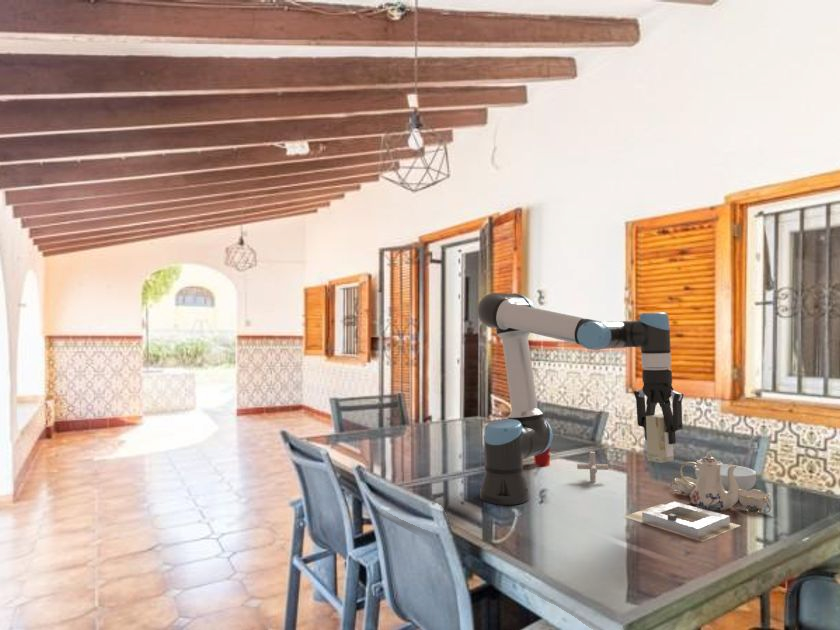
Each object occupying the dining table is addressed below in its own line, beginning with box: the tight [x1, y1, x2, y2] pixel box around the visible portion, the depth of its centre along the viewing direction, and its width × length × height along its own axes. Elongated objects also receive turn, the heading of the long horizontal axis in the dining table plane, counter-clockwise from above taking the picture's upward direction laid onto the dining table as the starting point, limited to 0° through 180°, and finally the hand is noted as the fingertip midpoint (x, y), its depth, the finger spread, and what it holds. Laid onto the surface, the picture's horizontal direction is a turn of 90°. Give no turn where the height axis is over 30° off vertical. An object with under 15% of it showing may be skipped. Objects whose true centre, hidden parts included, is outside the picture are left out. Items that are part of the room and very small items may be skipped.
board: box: [622, 503, 742, 542], centre depth 145 cm, size 18×22×1 cm
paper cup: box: [533, 446, 551, 467], centre depth 211 cm, size 8×8×14 cm
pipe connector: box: [576, 451, 609, 484], centre depth 187 cm, size 10×10×10 cm
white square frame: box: [641, 501, 731, 540], centre depth 143 cm, size 15×15×4 cm
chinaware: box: [670, 452, 772, 514], centre depth 159 cm, size 28×17×17 cm, turn 44°
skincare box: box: [646, 413, 675, 464], centre depth 150 cm, size 6×4×12 cm
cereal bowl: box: [694, 463, 757, 491], centre depth 174 cm, size 17×17×7 cm
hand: (660, 454), depth 150 cm, fingers closed on skincare box, 4 cm apart
